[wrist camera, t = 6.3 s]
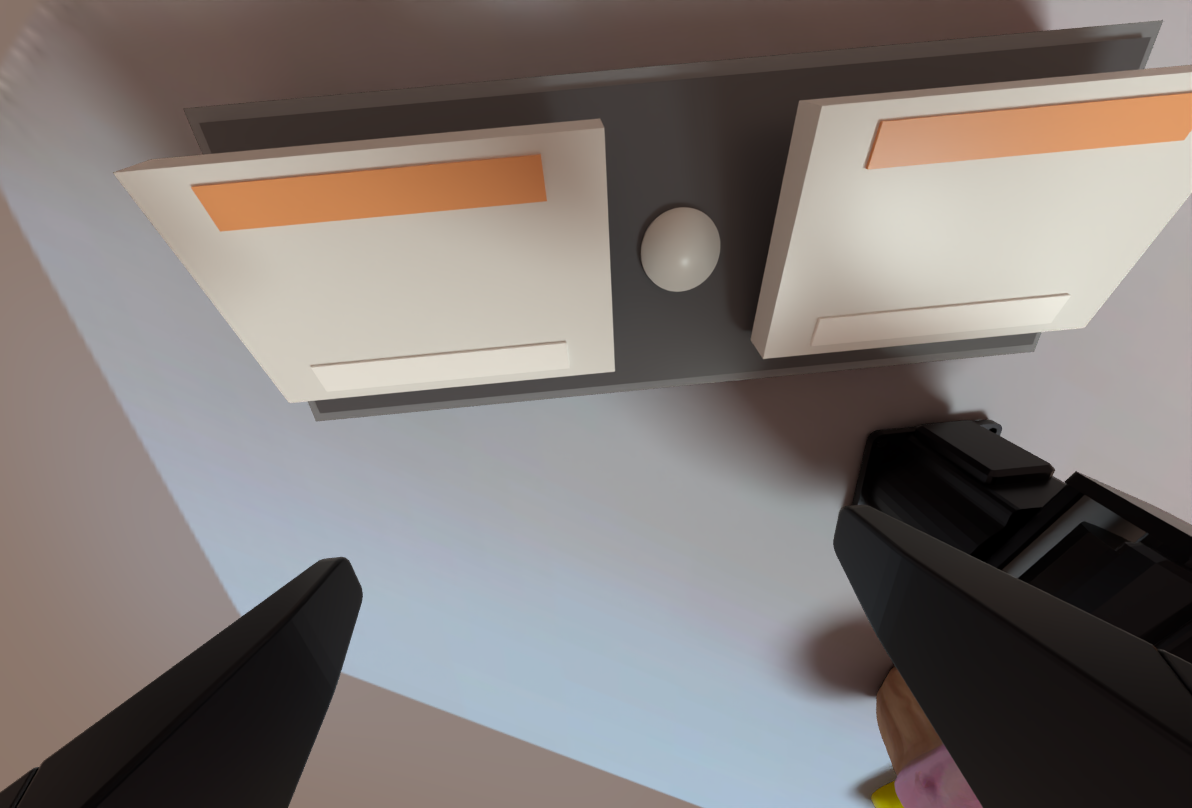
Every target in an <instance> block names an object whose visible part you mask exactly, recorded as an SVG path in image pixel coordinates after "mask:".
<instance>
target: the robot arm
mask: <svg viewBox="0 0 1192 808" xmlns="http://www.w3.org/2000/svg"><path fill="white" fill-rule="evenodd" d="M1001 431H1002V427H1001V425H1000V424H998V423H996V422H994V421H992V420H979V421H971V420H965V421H955V422H945V423H935V424H924V425H921V426H918V427H908V428H898V429H888V430H879V431H875V432H873V433H872V434H871V435H870V436H869V437H868V439H867V443H866V447H865V451H864V456H863V460H862V464H861V469H860V473H859V477H858V482H857V486H856V490H855V495H854V499H853V503H852V506H845V507H843V508H842V509H841V510H840V512H839V516H838V521H837V525H836V530H835V535H834V540H833V545H834V550H835V553H836V555H837V557H838V559H839V561H840V563H841V565H842V567H843V569H844V571H845V573H846V575H847V577H848V579H849V581H850V583H851V585H852V588H853V590H854V592H855V594H856V596H857V598H858V600H859V602H860V604H861V606H862V608H863V610H864V612H865V614H866V616H867V618H868V620H869V622H870V624H871V626H872V627H873V629H874V631H875V633H876V635H877V637H878V638H879V640H880V642H881V644H882V645H883V647H884V649H885V650H886V652H887V654H888V655H889V657H890V658H891V660H892V662H893V663H894V665H895V666H896V668H897V670H898V671H899V673H900V675H901V676H902V678H903V679H904V681H905V683H906V684H907V686H908V688H909V689H910V691H911V692H912V694H913V696H914V697H915V699H916V700H917V702H918V704H919V705H920V707H921V709H922V710H923V712H924V713H925V715H926V717H927V718H928V720H929V721H930V723H931V725H932V726H933V728H934V730H935V731H936V733H937V734H938V736H939V738H940V739H941V741H942V743H943V744H944V746H945V747H946V749H947V751H948V752H949V754H950V755H951V757H952V759H953V760H954V762H955V764H956V765H957V767H958V768H959V770H960V772H961V773H962V775H963V776H964V778H965V780H966V781H967V783H968V785H969V786H970V788H971V789H972V791H973V793H974V794H975V796H976V798H977V799H978V801H979V802H980V804H981V806H982V807H983V808H1192V525H1191V524H1189V523H1187V522H1185V521H1183V520H1181V519H1179V518H1177V517H1175V516H1173V515H1171V514H1169V513H1167V512H1165V511H1163V510H1161V509H1159V508H1157V507H1155V506H1153V505H1151V504H1149V503H1147V502H1144V501H1142V500H1140V499H1138V498H1135V497H1133V496H1131V495H1129V494H1126V493H1124V492H1122V491H1120V490H1117V489H1115V488H1113V487H1111V486H1108V485H1106V484H1104V483H1101V482H1099V481H1097V480H1095V479H1092V478H1090V477H1088V476H1086V475H1083V474H1081V473H1079V472H1077V471H1076V472H1075V473H1073V474H1072V475H1071V476H1070V477H1069V478H1068V479H1067V480H1066V481H1065V483H1064V482H1062V481H1060V480H1059V479H1057V478H1055V477H1053V473H1054V471H1055V469H1054V468H1053V467H1052V466H1051V464H1050V463H1048V462H1046V461H1044V460H1042V459H1041V458H1039V457H1037V456H1035V455H1033V454H1031V453H1030V452H1028V451H1026V450H1024V449H1022V448H1021V447H1019V446H1017V445H1015V444H1013V443H1011V442H1010V441H1008V440H1006V439H1004V438H1002V437H1000V434H1001ZM880 439H881V441H880V442H879V443H878V441H879V440H880ZM362 597H363V592H362V587H361V585H360V583H359V581H358V579H357V576H356V574H355V572H354V570H353V568H352V565H351V563H350V562H349V560H348V559H346V558H345V557H336V558H326V559H322V560H319V561H318V562H316V563H315V564H313V565H312V566H311V567H309V568H308V569H307V570H305V571H304V572H302V573H301V574H300V575H298V576H297V577H296V578H294V579H293V580H291V581H290V582H289V583H287V584H286V585H285V586H283V587H282V588H280V589H279V590H278V591H276V592H275V593H274V594H272V595H271V596H269V597H268V598H267V599H265V600H264V601H263V602H261V603H260V604H258V605H257V606H256V607H254V608H253V609H252V610H250V611H249V612H247V613H246V614H245V615H243V616H242V617H241V618H239V619H238V620H236V621H235V622H234V623H232V624H231V625H230V626H228V627H227V628H225V629H224V630H223V631H221V632H220V633H219V634H217V635H216V636H214V637H213V638H212V639H210V640H209V641H208V642H206V643H205V644H203V645H202V646H201V647H199V648H198V649H197V650H195V651H194V652H192V653H191V654H190V655H189V656H187V657H186V658H184V659H183V660H182V661H180V662H179V663H177V664H176V665H175V666H173V667H172V668H171V669H169V670H168V671H166V672H165V673H164V674H162V675H161V676H160V677H158V678H157V679H156V680H154V681H153V682H151V683H150V684H149V685H147V686H146V687H144V688H143V689H142V690H140V691H139V692H138V693H136V694H135V695H133V696H132V697H131V698H129V699H128V700H127V701H125V702H124V703H122V704H121V705H120V706H119V707H117V708H116V709H114V710H113V711H111V712H110V713H109V714H107V715H106V716H105V717H103V718H102V719H101V720H99V721H98V722H96V723H95V724H94V725H92V726H91V727H89V728H88V729H87V730H85V731H84V732H83V733H81V734H80V735H78V736H77V737H76V738H74V739H73V740H72V741H70V742H69V743H67V744H66V745H65V746H63V747H62V748H61V749H59V750H58V751H57V752H55V753H54V754H52V755H51V756H50V757H48V758H47V759H46V760H44V761H43V762H42V764H41V765H40V767H36V768H33V769H32V770H30V771H29V772H27V773H26V774H25V775H23V776H22V777H21V778H19V779H18V780H16V781H15V782H14V783H12V784H11V785H10V786H8V787H7V788H6V789H4V790H3V791H1V792H0V808H288V806H289V804H290V801H291V799H292V796H293V793H294V792H295V789H296V786H297V784H298V782H299V779H300V777H301V774H302V772H303V769H304V767H305V764H306V762H307V759H308V757H309V754H310V752H311V749H312V747H313V745H314V742H315V739H316V737H317V735H318V732H319V730H320V727H321V725H322V722H323V720H324V717H325V715H326V712H327V710H328V707H329V705H330V702H331V699H332V697H333V694H334V692H335V689H336V685H337V683H338V680H339V677H340V673H341V670H342V667H343V663H344V660H345V657H346V653H347V650H348V647H349V643H350V640H351V637H352V633H353V630H354V627H355V623H356V620H357V617H358V613H359V610H360V607H361V603H362Z"/></svg>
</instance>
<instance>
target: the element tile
mask: <svg viewBox="0 0 1192 808" xmlns="http://www.w3.org/2000/svg"><path fill="white" fill-rule="evenodd" d="M894 783H895V781H893V782H891V783H889V784H887V785H885V786H883V787H881V788H879V789H878V790H876V791H875V792H874V793H873V794H872V796H871V799H872V802H873V804H874V806H875V808H904V807H903V805H902V803H901V802H900V800H899V798H898V796H897V794H896V790H895V784H894Z"/></svg>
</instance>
